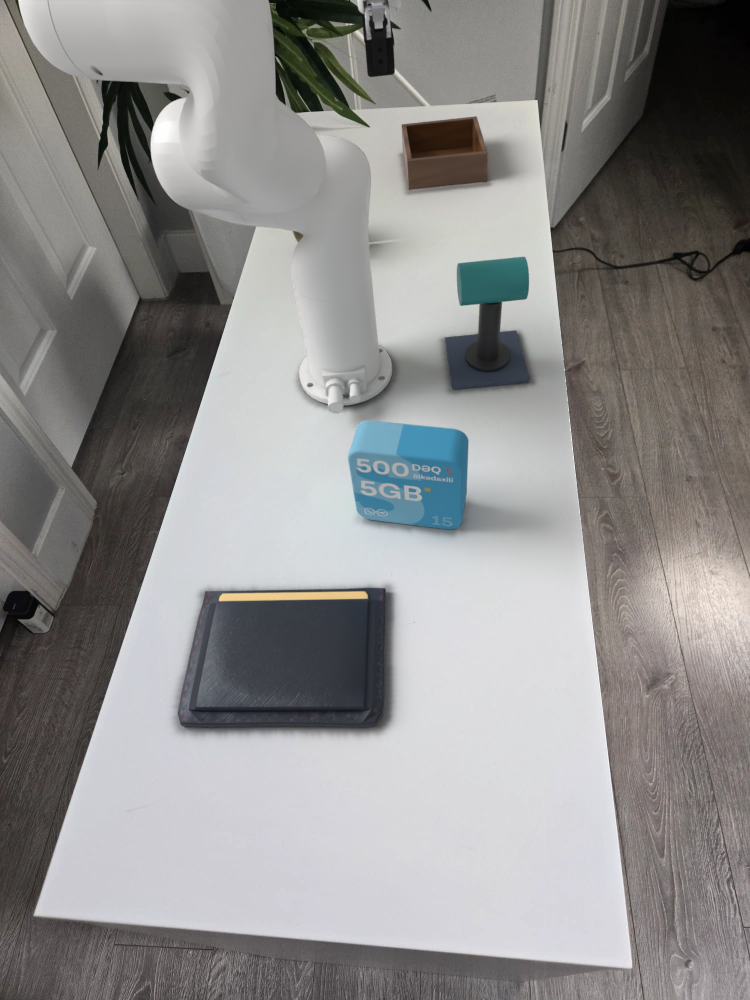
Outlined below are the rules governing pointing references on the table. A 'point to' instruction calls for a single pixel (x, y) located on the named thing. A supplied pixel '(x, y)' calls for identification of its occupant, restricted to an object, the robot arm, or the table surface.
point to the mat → (472, 378)
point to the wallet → (287, 659)
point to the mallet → (491, 305)
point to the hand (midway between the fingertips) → (379, 58)
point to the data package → (409, 473)
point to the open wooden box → (444, 153)
